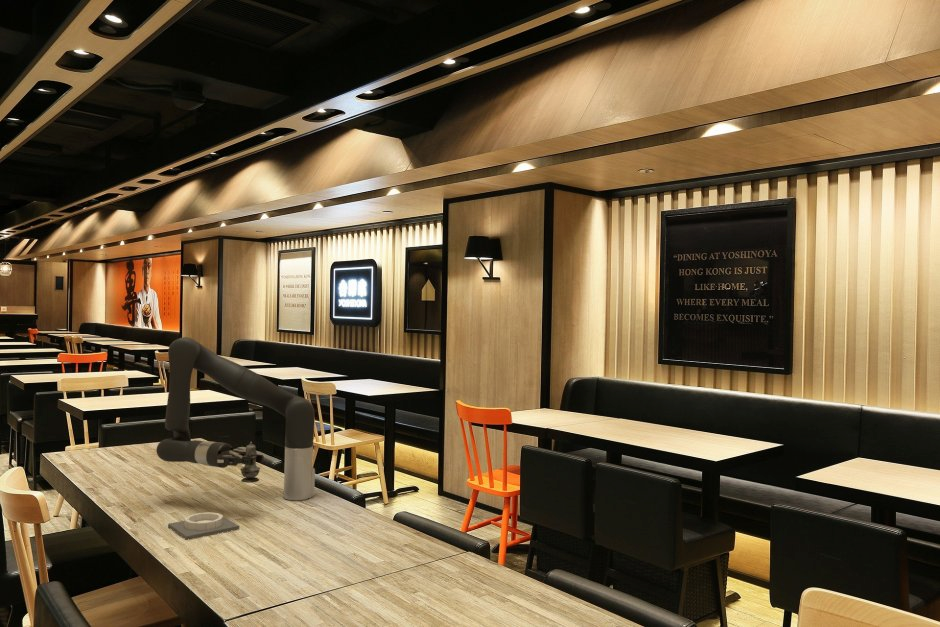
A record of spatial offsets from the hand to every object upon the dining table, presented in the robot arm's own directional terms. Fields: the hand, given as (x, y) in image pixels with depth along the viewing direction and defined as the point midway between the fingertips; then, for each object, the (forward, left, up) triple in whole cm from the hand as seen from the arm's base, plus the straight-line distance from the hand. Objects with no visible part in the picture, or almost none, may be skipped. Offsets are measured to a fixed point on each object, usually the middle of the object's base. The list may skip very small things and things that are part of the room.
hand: (258, 460), depth 207 cm
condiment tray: (+16, 0, -17) cm, 24 cm away
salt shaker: (+1, -3, -7) cm, 7 cm away
